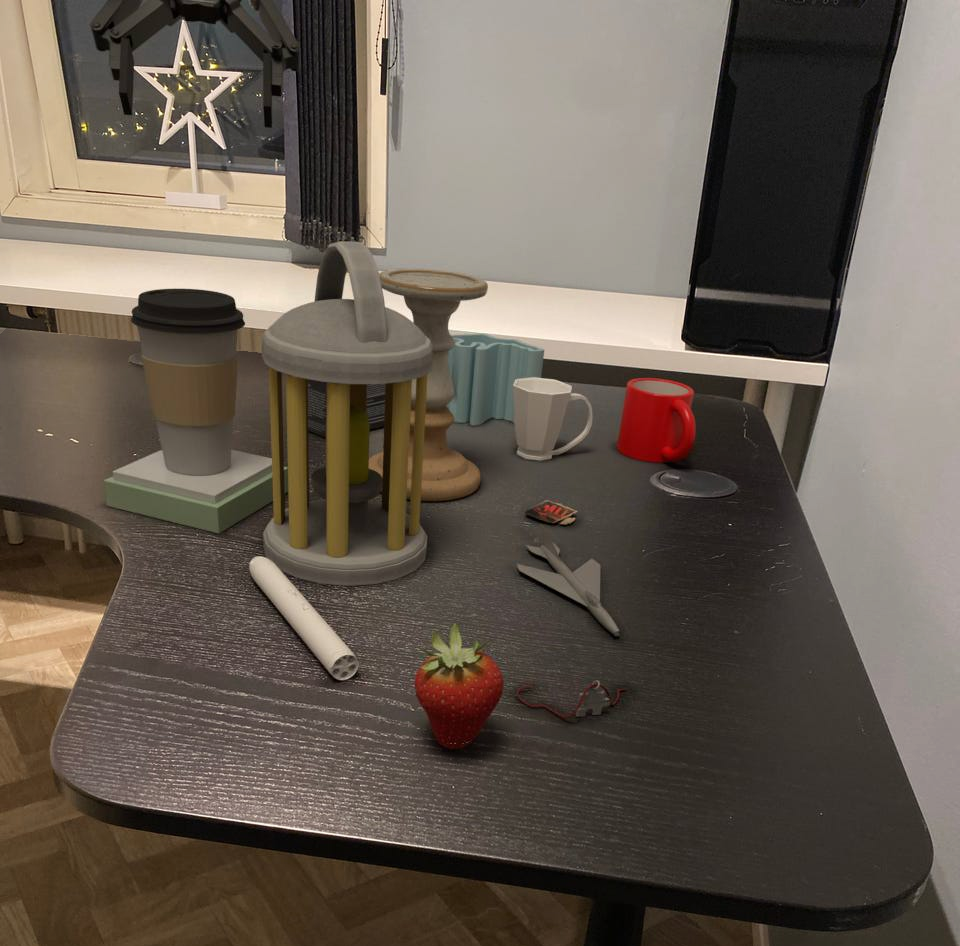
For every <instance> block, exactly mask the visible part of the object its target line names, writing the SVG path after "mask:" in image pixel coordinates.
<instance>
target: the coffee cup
mask: <svg viewBox="0 0 960 946" xmlns="http://www.w3.org/2000/svg"><path fill="white" fill-rule="evenodd" d="M131 314H132V315H131V318H130V322H131V323H132V324H133V325H134V326H136V327H137V330H138V331H137V333H138V337H139V342H140V347H141V352H140V353H141V354H140V356H141V361H142V366H143V373H144V375H145V380H146V386H147V392H148V396H149V402H150V407H151V410H152V415H153V417H154V419H155V423H156V427H157V431H158V432H157V433H158V437H159V441H160V447H161V450H162V451H163V456H164V461H165V465H166V467H167V469H169V470H170V471H173V472H176V473H179V474H184V475H194V476H205V475H213V474H217V473H220V472H223V471H225V470H226V469H227V468H229V466H230V464H231V450H233V449H232V448H233V431H234V430H233V428H234V417H235V415H236V403H237V387H238V385H237V384H238V368H239V367H238V366H239V353H238V352H237V351H238V348H237V347H238V330H240V329H242V328H244V327H245V325H246V321H244V313H243V312H242V311H241V310H239V309H238V308H237V304H236V299H235V297H233V296H232V295H229V294H227V293H223V292H219V291H214V290H208V289H197V288H161V289H160V288H159V289H158V288H157V289H151V290H146V291H143V292H141V293H140V294H139V295H138V298H137V305H136V306H135V307H133V308H132V309H131Z"/></svg>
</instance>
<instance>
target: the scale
mask: <svg viewBox="0 0 960 946" xmlns="http://www.w3.org/2000/svg"><path fill="white" fill-rule="evenodd" d="M284 486H285V494H287V493H288V466H284ZM103 487H104V495H105V502H106V506H107V507H109V508H110V507H111V508H114V509H118V510H123V511H126V512H129V513H134V514H137V515H142V516H147V517H151V518H154V519H158V520H163V521H166V522H171V523H175V524H178V525H183V526H186V527H190V528H195V529H198V530H203V531H206V532H209V533H210V532H211V533H215V534H221V533H223V532H224V531H226V530H227V529H229V528H231V527H232V526H234V525H236V524H238V523H239V522H241V521H242V520H244V519H246V518H247V517H249V516H250V515H252V514H254V513H256V512H257V511H259V510H260V509H262V508H264V507H265V506H267V505H269V504H270V503H272V502H273V480H272V457H266V456H262V455H257V454H253V453H249V452H244V451H240V450H237V449H236V450H235V449H231V464H230V466H229V468H227V469H226V470H225V471H223V472H220V473H217V474H213V475H205V476H194V475H184V474H179V473H176V472H173V471H170V470H169V469H167V467H166V465H165V461H164V456H163V451H162V449H161V450H158V451H155V452H153V453H151V454H149V455H147V456H144V457H142V458H140V459H138V460H135V461H133V462H131V463H128V464H126V465H124V466H122V467H119V468H117V469H115V470H112V476H110V477H108V478H106V479H104V480H103Z"/></svg>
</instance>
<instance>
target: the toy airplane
mask: <svg viewBox="0 0 960 946" xmlns="http://www.w3.org/2000/svg"><path fill="white" fill-rule="evenodd" d="M522 526H525V524H522ZM540 529H541V536H542V544H541V545H540V546H539V547H538V546H533V545H529V544H525V546H526V547H527V549H528V550H529V551H530V553H533V554H535V555H537V556H541V557H542V558H544V559H546V560H547V562H548V563H549V565H550V566H551V567H552V568H553V570H554V571H555V572H552V571H549V570H545V569H540V568H538V567H533V566H529V565H524V564H521V563H516V566H517V569H518V571H519V572H521V573H523V574H524V575H527V576H529V577H530V578H532V579H534V580H536V581H537V582H540V583H542V584H543V585H546V586H547V587H549V588H551V589H553V590H554V591H557V592H559V593H561V594H563V595H564V596H566V597H568V598H570V599H572V600H574V601H576V602H577V603H580V604H582V605H583V606H585V607H586V609H587V610H588V611H589V612H590V614H591V615H592V616H593V617H594V618H595V619H596V620H597V622H598V623H599V624H600V625H602V627H603V628H604V629H605V630H607V631H608V632H610V633H611V634H612V635H613V636H615V637H619V636H620V635H621V631H620V629H619V627H618V625H617V624H616V622H615V620H613V617H612V616H611V615H610V614H609V612H607V610H606V609H605V608H604V607H603V604H602V603H601V567H602V565H601V564H600V563H598V562H597V561H596V560H595V559H593V558H590V559H589V560H587V561H586V562H585V563H583V564H582V565H580V567H578V568H577V569H575V570H574V571H572V570H571V569H570V568H569V566H567V565H566V563H565V562H564V561H563V560H562V559H561V557H560V552H561V549H560V547H558V545H557V544H556V543H555V542H553V541H552V538H551V535H550V534H549V532H548V530H547V529H546V528H545V527H544V526H543V524H540ZM525 530H527V531H528V530H529V528H528V527H525ZM529 534H531V535H533V534H534V532H532V531H531V532H529ZM536 539H537V540H536ZM538 540H539V538H538V537H536V538H534V540H533V541H534V542H535V543H537V542H538Z"/></svg>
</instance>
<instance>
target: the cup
mask: <svg viewBox="0 0 960 946" xmlns="http://www.w3.org/2000/svg"><path fill="white" fill-rule="evenodd" d="M572 389H573V386H572V385H570V384H568V383H566V382H562V381H560V380H557V379H553V378H544V377H543V378H542V377H541V378H537V377H531V378H522V379H515V382H514V384H513V398H514V423H513V424H514V426H513V427H514V432H515V440H516V445H517V450H516V455H517V456H519V457H521V458H523V459H525V460H530V461H531V460H533V461H538V462H540V461H547V460H552V459H553V456H559V455H561V454H564V453H565V452H567V451H569V450H570V449H572V448H573V447H575V446H576V445H577V444H579V443H581V442H582V441H583V440H584V439H585V438H586V437H587V436H588V434H589V433H590V431H591V429H592V426H593V417H594V416H593V407H592V404H591V402H590V401H589V400H588V398H587V397H586V396H584V395H583V394H580V393H574V392H572ZM577 400H582V401H583V402H584V403H585V405H586V410H587V422H586V425H585V428H584V430H582V432H581V433H580V434H579V435H578V436H577V437H575V438H574V439H573V440H571V441H569V442H568V443H567V444H565V445H564V446H562V447H559V448H558V449H554V448H555V446H556V443H557V441H558V438H559V436H560V433H561V431H562V426H563V424H564V423H563V422H564V419H565V415H566V412H567V408H568V405H569V402H572V401H577Z"/></svg>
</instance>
